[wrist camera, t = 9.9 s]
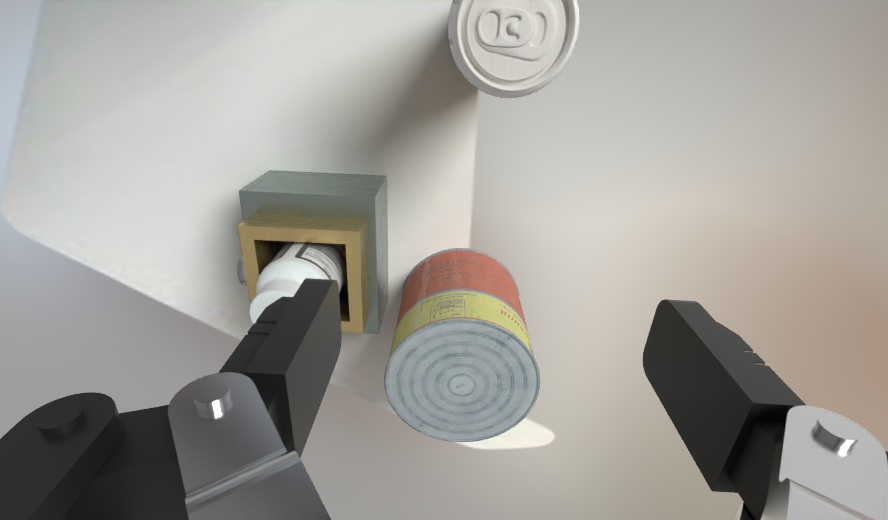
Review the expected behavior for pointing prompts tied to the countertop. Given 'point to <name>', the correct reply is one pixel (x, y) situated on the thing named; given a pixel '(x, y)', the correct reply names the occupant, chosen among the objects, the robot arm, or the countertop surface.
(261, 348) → the robot arm
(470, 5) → the beer can
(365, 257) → the gold grey hollow block
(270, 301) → the pill bottle
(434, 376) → the canned food
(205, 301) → the countertop surface
